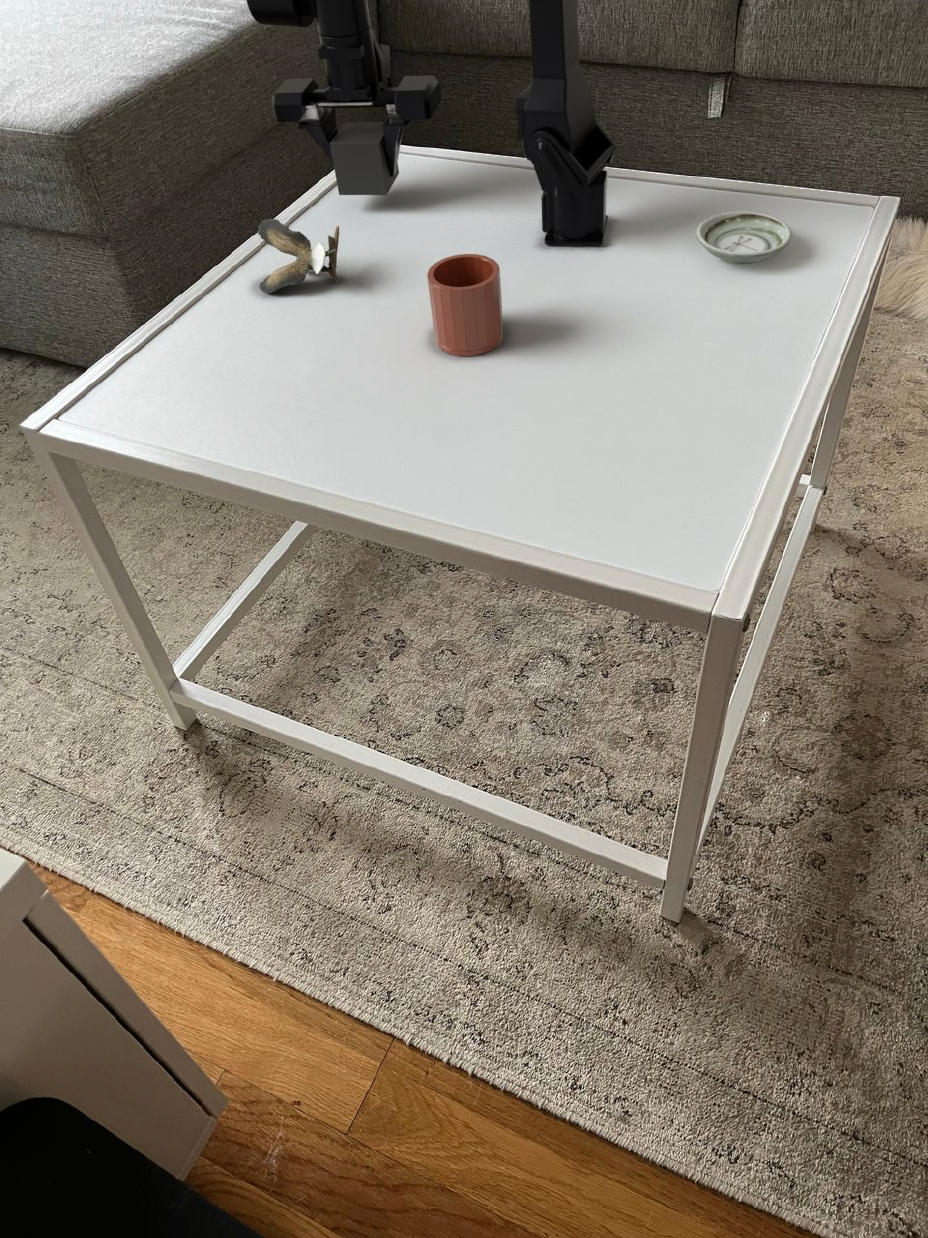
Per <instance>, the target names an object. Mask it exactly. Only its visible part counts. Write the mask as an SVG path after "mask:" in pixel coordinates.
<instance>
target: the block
mask: <svg viewBox="0 0 928 1238" xmlns="http://www.w3.org/2000/svg"><path fill="white" fill-rule="evenodd" d="M383 122H384V121H365V122H364V121H360V122H359V121H358V122H357V121H355V122H348V121H347V122H343V123H342V124H341V127H340V128H339V129H338V130H337V131H338V132H337V133H336V135H335V136H334V138H333V139H332V141H331V142H330V148H331V154H332V159H333V164H334V166H333V169H334V175H335V179H336V186H337V190H338V195H339V196H387V195H388V194H389V192H390V191H391V188H392V187H393V185H394V183H395V181H396V179H398V176H399V175H400V169H399V162H397V168H396V173H395V175H394V177H391V176H390V172H389V169H388V165H387V157H386V149H385V141H384V133H383V125H382V124H383Z"/></svg>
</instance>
